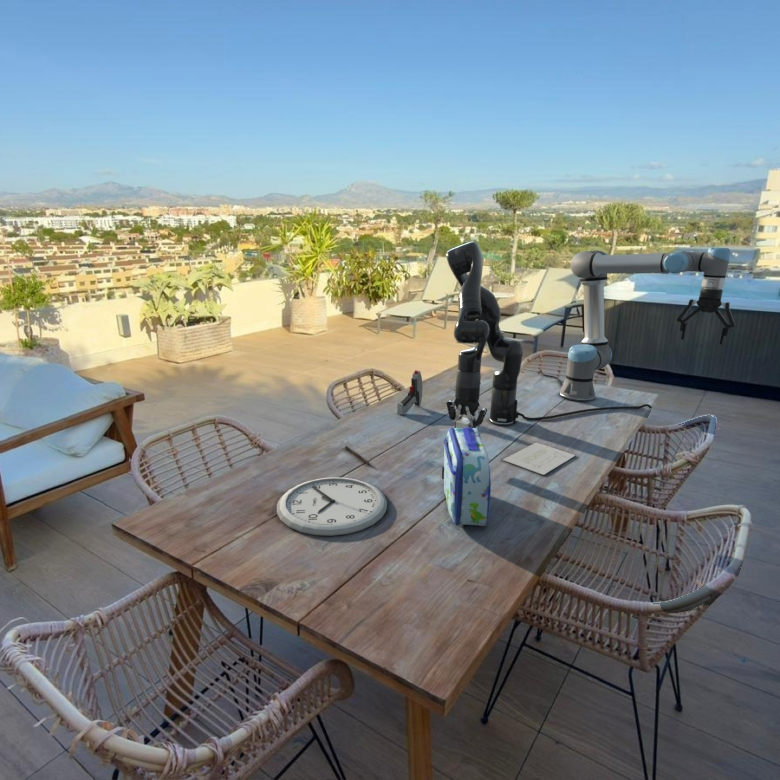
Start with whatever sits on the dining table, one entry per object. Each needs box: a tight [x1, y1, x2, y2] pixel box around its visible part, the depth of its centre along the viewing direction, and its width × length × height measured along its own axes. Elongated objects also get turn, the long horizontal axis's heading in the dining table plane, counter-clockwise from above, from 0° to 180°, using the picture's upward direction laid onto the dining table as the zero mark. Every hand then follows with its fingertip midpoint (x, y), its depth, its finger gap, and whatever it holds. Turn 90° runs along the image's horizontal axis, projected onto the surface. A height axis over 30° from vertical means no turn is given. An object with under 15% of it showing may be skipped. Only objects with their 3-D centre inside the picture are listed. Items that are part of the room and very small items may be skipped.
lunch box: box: [441, 427, 492, 527], centre depth 140 cm, size 26×11×21 cm, turn 179°
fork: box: [450, 382, 456, 390], centre depth 243 cm, size 3×16×2 cm, turn 15°
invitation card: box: [502, 442, 577, 476], centre depth 174 cm, size 21×1×15 cm
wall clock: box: [276, 476, 388, 537], centre depth 142 cm, size 30×2×30 cm
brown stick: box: [344, 445, 370, 465], centre depth 173 cm, size 15×1×1 cm, turn 34°
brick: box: [456, 416, 470, 428], centre depth 168 cm, size 4×5×9 cm
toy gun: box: [396, 369, 423, 416], centre depth 215 cm, size 2×16×15 cm
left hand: (464, 434), depth 168 cm, fingers closed on brick, 4 cm apart
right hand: (701, 341), depth 211 cm, fingers open, 13 cm apart
